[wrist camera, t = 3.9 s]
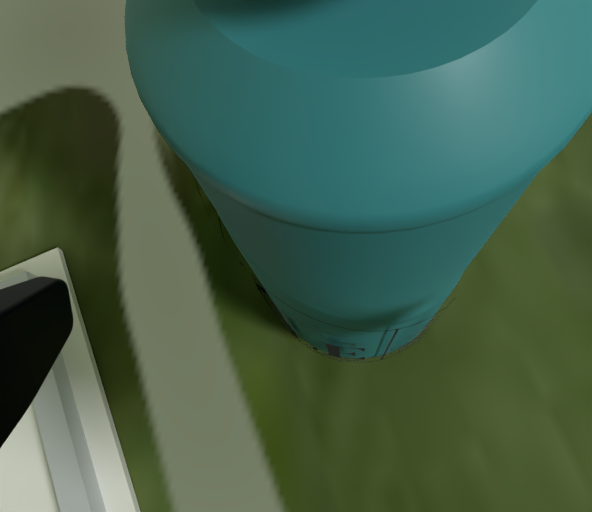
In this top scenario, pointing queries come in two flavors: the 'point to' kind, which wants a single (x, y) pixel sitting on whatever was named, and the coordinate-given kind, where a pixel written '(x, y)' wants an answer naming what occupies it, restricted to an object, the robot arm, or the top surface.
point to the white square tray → (64, 426)
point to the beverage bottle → (362, 139)
